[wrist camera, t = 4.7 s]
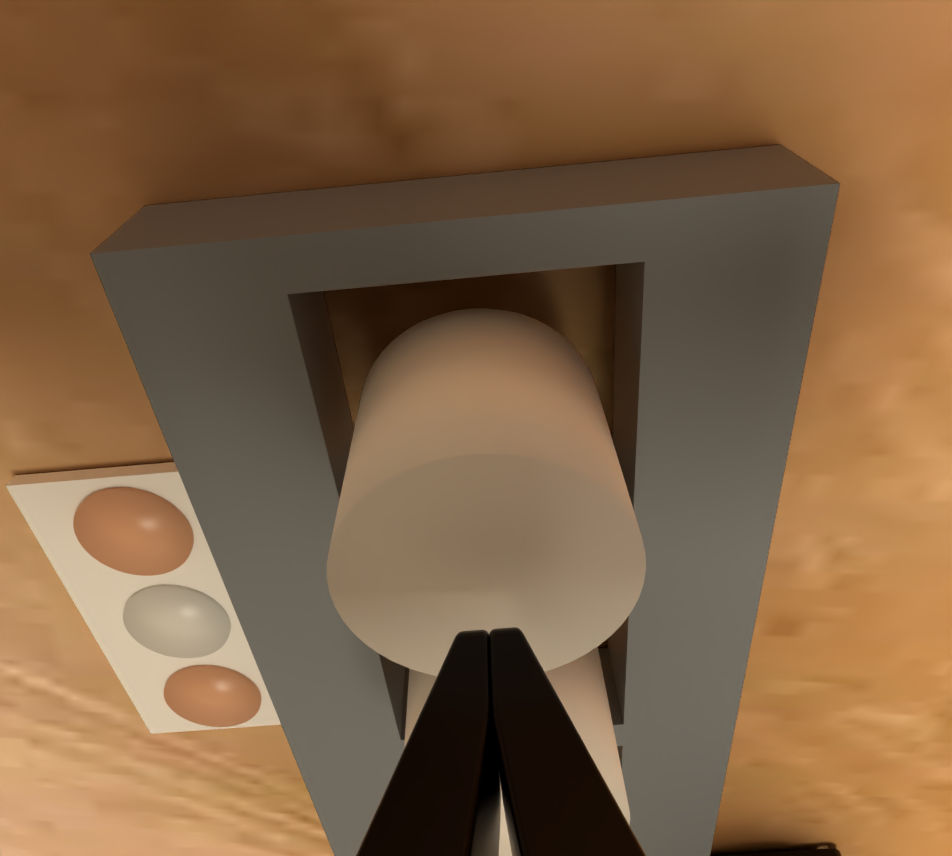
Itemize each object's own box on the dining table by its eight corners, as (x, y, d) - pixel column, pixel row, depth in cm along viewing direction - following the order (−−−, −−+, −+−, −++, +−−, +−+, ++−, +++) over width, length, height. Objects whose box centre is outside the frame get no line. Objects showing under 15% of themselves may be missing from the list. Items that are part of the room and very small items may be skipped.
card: (311, 711, 23) (307, 727, 22) (155, 722, 23) (149, 738, 23) (220, 458, 17) (213, 472, 17) (14, 475, 17) (2, 490, 17)
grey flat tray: (688, 787, 26) (709, 861, 24) (355, 809, 26) (346, 884, 24) (781, 144, 13) (839, 183, 11) (144, 205, 14) (89, 253, 12)
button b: (595, 700, 19) (627, 874, 16) (423, 712, 19) (415, 887, 16) (596, 578, 17) (634, 753, 13) (397, 593, 17) (381, 771, 13)
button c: (597, 498, 15) (639, 670, 12) (380, 515, 15) (358, 690, 12) (598, 297, 13) (654, 439, 9) (338, 320, 13) (293, 469, 9)
